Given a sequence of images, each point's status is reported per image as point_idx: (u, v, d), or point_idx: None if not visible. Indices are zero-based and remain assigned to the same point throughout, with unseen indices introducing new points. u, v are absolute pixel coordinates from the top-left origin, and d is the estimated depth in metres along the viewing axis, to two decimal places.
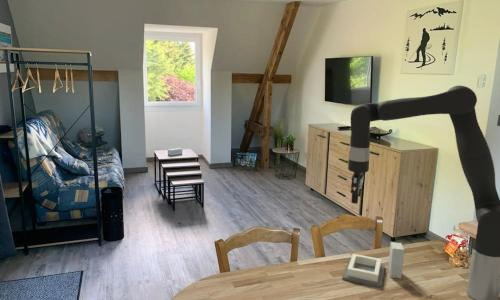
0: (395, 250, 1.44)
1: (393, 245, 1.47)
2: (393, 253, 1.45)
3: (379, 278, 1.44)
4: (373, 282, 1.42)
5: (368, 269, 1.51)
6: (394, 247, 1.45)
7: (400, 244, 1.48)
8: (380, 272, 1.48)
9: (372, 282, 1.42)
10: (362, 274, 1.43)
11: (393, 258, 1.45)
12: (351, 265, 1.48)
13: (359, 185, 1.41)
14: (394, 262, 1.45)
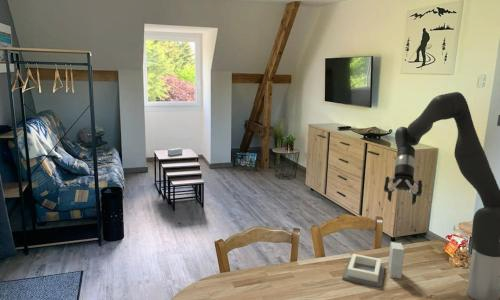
0: (395, 250, 1.44)
1: (393, 245, 1.47)
2: (393, 253, 1.45)
3: (379, 278, 1.44)
4: (373, 282, 1.42)
5: (368, 269, 1.51)
6: (394, 247, 1.45)
7: (400, 244, 1.48)
8: (380, 272, 1.48)
9: (372, 282, 1.42)
10: (362, 274, 1.43)
11: (393, 258, 1.45)
12: (351, 265, 1.48)
13: None
14: (394, 262, 1.45)
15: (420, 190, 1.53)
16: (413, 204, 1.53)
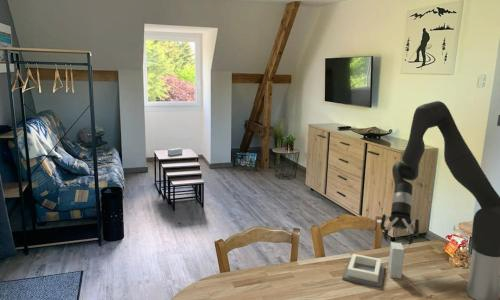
0: (395, 250, 1.44)
1: (393, 245, 1.47)
2: (393, 253, 1.45)
3: (379, 278, 1.44)
4: (373, 282, 1.42)
5: (368, 269, 1.51)
6: (394, 247, 1.45)
7: (400, 244, 1.48)
8: (380, 272, 1.48)
9: (372, 282, 1.42)
10: (362, 274, 1.43)
11: (393, 258, 1.45)
12: (351, 265, 1.48)
13: (389, 223, 1.55)
14: (394, 262, 1.45)
15: (417, 230, 1.50)
16: None
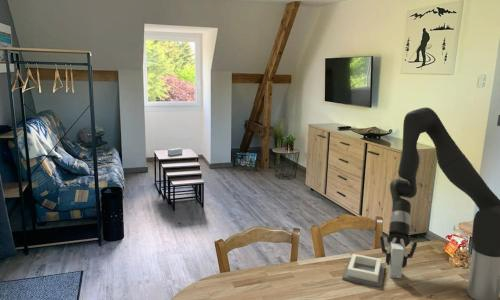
0: (395, 250, 1.44)
1: (393, 245, 1.47)
2: (393, 253, 1.45)
3: (379, 278, 1.44)
4: (373, 282, 1.42)
5: (368, 269, 1.51)
6: (394, 247, 1.45)
7: (400, 244, 1.48)
8: (380, 272, 1.48)
9: (372, 282, 1.42)
10: (362, 274, 1.43)
11: (393, 258, 1.45)
12: (351, 265, 1.48)
13: None
14: (394, 262, 1.45)
15: (411, 252, 1.45)
16: None
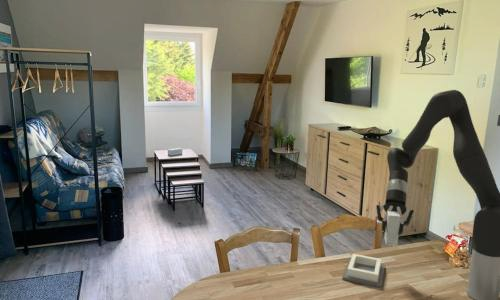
0: (391, 217, 1.42)
1: (389, 213, 1.45)
2: (389, 220, 1.43)
3: (379, 278, 1.44)
4: (373, 282, 1.42)
5: (368, 269, 1.51)
6: (390, 214, 1.43)
7: (396, 212, 1.46)
8: (380, 272, 1.48)
9: (372, 282, 1.42)
10: (362, 274, 1.43)
11: (389, 225, 1.43)
12: (351, 265, 1.48)
13: (386, 213, 1.47)
14: (390, 229, 1.43)
15: (407, 220, 1.43)
16: None
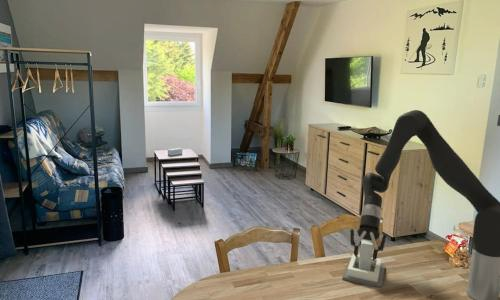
0: (364, 245, 1.46)
1: (363, 240, 1.48)
2: (362, 248, 1.46)
3: (379, 278, 1.44)
4: (373, 282, 1.42)
5: None
6: (363, 242, 1.47)
7: None
8: (380, 272, 1.48)
9: (372, 282, 1.42)
10: (362, 274, 1.43)
11: (362, 253, 1.47)
12: (351, 265, 1.48)
13: None
14: (363, 257, 1.47)
15: (381, 245, 1.46)
16: (374, 260, 1.46)
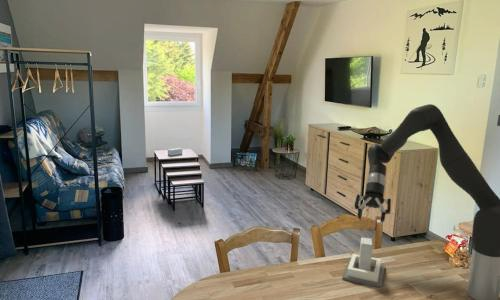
0: (363, 245, 1.46)
1: (362, 240, 1.48)
2: (361, 248, 1.46)
3: (379, 278, 1.44)
4: (373, 282, 1.42)
5: None
6: (363, 242, 1.47)
7: (370, 239, 1.49)
8: (380, 272, 1.48)
9: (372, 282, 1.42)
10: (362, 274, 1.43)
11: (361, 253, 1.47)
12: (351, 265, 1.48)
13: None
14: (362, 257, 1.47)
15: (389, 208, 1.56)
16: (382, 222, 1.55)
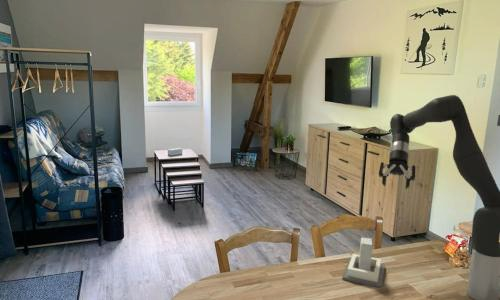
0: (363, 245, 1.46)
1: (362, 240, 1.48)
2: (361, 248, 1.46)
3: (379, 278, 1.44)
4: (373, 282, 1.42)
5: None
6: (363, 242, 1.47)
7: (370, 239, 1.49)
8: (380, 272, 1.48)
9: (372, 282, 1.42)
10: (362, 274, 1.43)
11: (361, 253, 1.47)
12: (351, 265, 1.48)
13: None
14: (362, 257, 1.47)
15: (414, 175, 1.57)
16: None
